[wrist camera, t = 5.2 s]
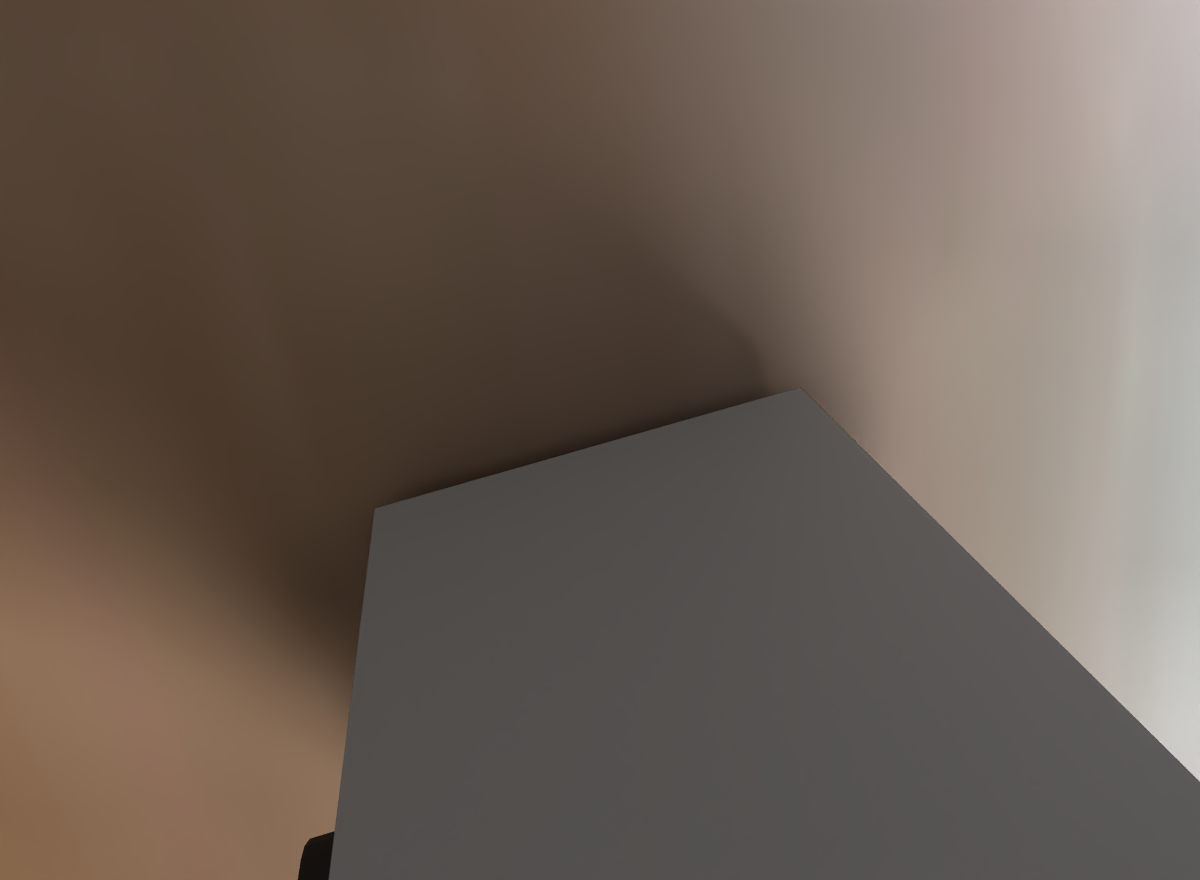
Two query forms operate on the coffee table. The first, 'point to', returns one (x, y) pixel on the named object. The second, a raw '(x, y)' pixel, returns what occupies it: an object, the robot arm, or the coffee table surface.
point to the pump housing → (727, 683)
